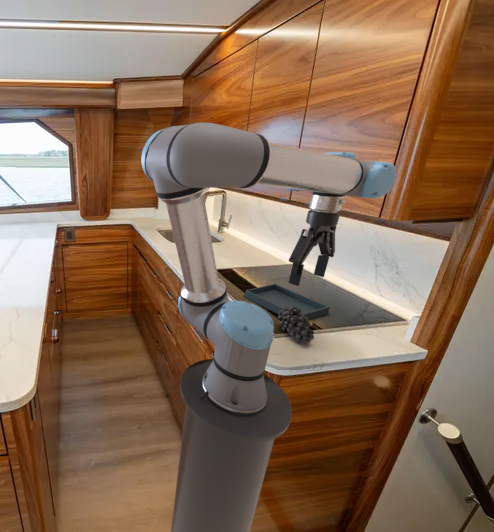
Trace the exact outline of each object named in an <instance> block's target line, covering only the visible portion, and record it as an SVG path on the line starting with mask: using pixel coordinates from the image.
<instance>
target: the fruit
mask: <svg viewBox="0 0 494 532" xmlns="http://www.w3.org/2000/svg"><path fill="white" fill-rule="evenodd" d="M278 313H279V315H277V319H278V320H279V321H280V325H282V327H281V330H282V331H284V332H287V333H288V334H289V335H290V336H291V337H293V338H296V341H297V342H298V343H302V344H304V345H307V344H309V343H311V341H313V340H314V339H315V335H314V334H315V331H314V330H313V329H311V325H312V324H311V323H310V320H308V318H307V317H306V316H305V315H302V312H301V309H300V308H298V307H297V306H293V307H290V306H287V307H286V308H285V311H283V310H279V311H278Z"/></svg>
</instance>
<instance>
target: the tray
mask: <svg viewBox="0 0 494 532" xmlns="http://www.w3.org/2000/svg"><path fill="white" fill-rule="evenodd" d="M244 298H246V299H248V300H250V301H251V302H254V303H255V304H258V306H259V305H260V306H261V307H263V308H265V309H266V310H269V311H271V312H273V313H275V314H276V315H277V316H279V313H278V311H279V310H283V311H285V308H286V307H287V306H290V307H293V306H297V307H298V308H300V309H301V312H302V315H305V316H306V317H307V318H308V321H311V320H313V319H317V318H320V317H323V316H327V315H328V314H329V312H330V307H331V306H328V305H326V304H324V303H321V302H320V301H317V300H315V299H312V298H310V297H308V296H305V295H303V294H301V293H299V292H296V291H293V290H291V289H289V288H287V287H284V286H282V285H279V284H277V283H272V284H267V285H262V286H258V287H254V288H250V289H246V290H245V293H244Z"/></svg>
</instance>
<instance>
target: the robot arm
mask: <svg viewBox="0 0 494 532" xmlns="http://www.w3.org/2000/svg"><path fill="white" fill-rule="evenodd" d="M140 159H141V161H140V162H141V167H142V170H143V173H144V174H145V176H146V177H147V178H148V179H149V180H150V181H152V182H153V184H154V188H155V193H156V196H157V199H158V200H160V201H161V202H162V203H165V204H166V210H167V214H168V218H169V222H170V226H171V230H172V235H173V239H174V244H175V247H176V252H177V256H178V260H179V265H180V270H181V274H182V277H183V282H184V284H183V285H182V287H181V289H180V296H178V298H177V299H178V300H177V306H178V311H179V313H180V315H181V317H182V318H183V319H184V320H185V321H186V322H187V323H188V325H191V326H192V327H193V328H194V329H196V331H197V332H199V333H200V334H201V335H202V336H203V337H205V339H207V340H208V341H209V342H210V343H211V344H212V345H213V347H214V351H213V352H214V353H213V358H212V359H213V361H212V363H211V365H210V366H209V368H208V369H207V371H206V373H205V375H204V377H203V382H202V389H203V392H204V394H203V395H202V396H201V398H202V399H203V398H204V397H207V399H208V400H209V401H210V402H211V403H212V404H213V405H215V406H216V407H218V408H219V409H221V410H223V411H225V412H227V413H230V414H233V415H238V416H253V415H256V414H259V413H260V412H262V411H263V410H264V408H265V406H266V402H267V391H266V388H265V381H264V375H265V370H266V367H267V362H268V359H269V355H270V351H271V346H272V344H273V341H274V329H275V327H274V326H275V325H274V321H273V318H272V317H271V316H270V314H269V313H268V312H267V311H266V310H265V309H264V308H262V307H260V306H259V305H256V304H254V303H248V302H247V301H244V300H230V298H229V297H228V292H227V286H226V285H227V284H226V283H225V281H224V280H223V279H221V278H219V275H218V270H217V269H218V268H217V264H216V258H215V251H214V247H213V240H212V235H211V230H210V223H209V217H208V212H207V207H206V200H205V192H206V190H207V189H208V188H209V189H210V188H236V189H248V188H249V189H250V188H252V187H254V186H255V185H260V186H267V187H276V188H283V189H285V190H287V191H290V192H291V191H292V192H302V191H303V192H311V193H312V194H311V197H310V201H309V205H308V208H309V210H308V211H307V215H306V218H305V223H307V224H308V225H309V228H308V229H307V228H303V229H302V230H301V233H300V235H299V238H298V240H297V242H296V243H295V246H294V248H293V250H292V252H291V254H290V256H289V258H288V262H289V263H291V264H292V266H291V270H290V274H289V279H288V283H289V284H290V285H293V286H297V287H299V286H300V284H301V283H300V282H301V279H302V276H303V271H304V267H305V264H304V262H305V261H306V259H307V258H308V256H309V254H311V252H312V250H313V249H314V247H317V246H318V248H319V252H320V254H319V255H318V256H317V260H316V264H315V266H314V267H315V268H314V270H313V271H314V272H313V275H314V276H317V277H320V278H325V274H326V271H327V267H328V264H329V260H330V258H333V257H334V256H335V253H336V231H337V225H338V223H339V219H340V215H341V213H340V211H341V210H342V208H343V205H344V204H346V200H345V196H346V197H347V196H348V197H355V198H361V199H379V198H382V197H384V196H386V195H387V194H388V193H389V191H390V190H391V189H392V187H393V185H394V183H395V180H396V177H397V170H396V166H395V165H394V164H393V163H391V162H389V161H379V160H374V161H373V160H361V159H356V154H355V153H354V152H351V151H350V152H349V151H348V152H346V151H345V152H344V151H340V152H339V151H336V152H335V151H333V152H332V151H331V152H329V151H328V152H327V151H326V152H320V151H315V150H311V149H310V150H309V149H304V148H299V147H293V146H288V145H284V144H280V143H279V144H278V143H273V142H270V141H269V140H268V138H267V137H266V136H265V135H263V134H260V133H255V132H251V131H248V130H247V131H246V130H243V129H239V128H235V127H231V126H227V125H223V124H219V123H214V122H195V123H190V124H182V125H172V126H169V127H165V128H163V129H160V130H157V131H156V132H154V133H153V134H152V135H150V137H148V139H147V141H146V142H145V144H144V147H143V148H142V151H141V157H140Z"/></svg>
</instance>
